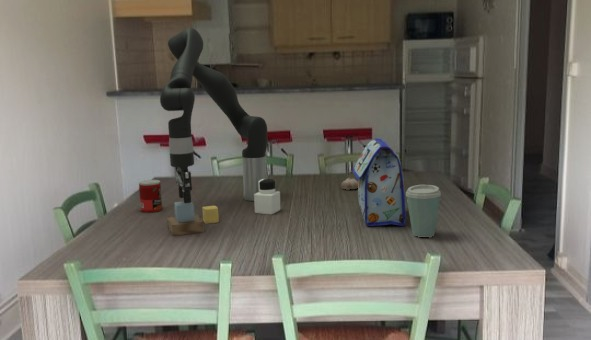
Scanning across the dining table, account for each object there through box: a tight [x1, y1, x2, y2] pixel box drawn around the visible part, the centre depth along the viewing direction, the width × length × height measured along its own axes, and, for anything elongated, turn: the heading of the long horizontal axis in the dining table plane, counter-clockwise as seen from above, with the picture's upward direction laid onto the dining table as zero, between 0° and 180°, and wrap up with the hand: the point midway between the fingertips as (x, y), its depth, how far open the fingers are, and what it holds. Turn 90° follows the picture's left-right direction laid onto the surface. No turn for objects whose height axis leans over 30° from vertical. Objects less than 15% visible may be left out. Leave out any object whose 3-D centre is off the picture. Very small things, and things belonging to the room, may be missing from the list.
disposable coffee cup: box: [405, 184, 442, 238], centre depth 172 cm, size 11×11×15 cm
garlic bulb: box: [340, 170, 358, 191], centre depth 241 cm, size 8×7×8 cm
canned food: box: [138, 179, 163, 213], centre depth 213 cm, size 8×8×11 cm
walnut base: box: [166, 214, 205, 237], centre depth 185 cm, size 10×10×4 cm
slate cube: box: [173, 200, 196, 223], centre depth 185 cm, size 6×6×6 cm
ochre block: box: [202, 205, 220, 225], centre depth 195 cm, size 4×4×5 cm
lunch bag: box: [352, 137, 407, 227], centre depth 192 cm, size 23×17×27 cm
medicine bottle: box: [253, 178, 281, 216], centre depth 206 cm, size 7×7×12 cm
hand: (185, 200), depth 184 cm, fingers open, 8 cm apart
